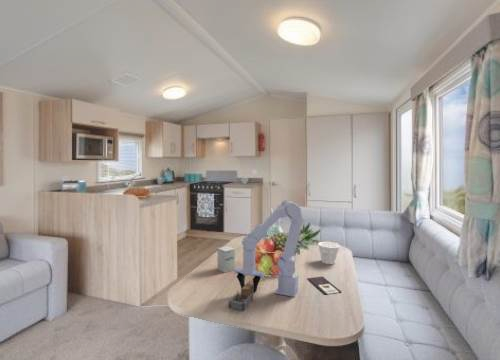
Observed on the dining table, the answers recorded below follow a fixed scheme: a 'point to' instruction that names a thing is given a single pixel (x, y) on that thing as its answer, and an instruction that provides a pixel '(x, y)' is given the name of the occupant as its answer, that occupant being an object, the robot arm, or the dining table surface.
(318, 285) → the chocolate bar
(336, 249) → the cup
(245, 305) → the gray angular bracket
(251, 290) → the slat
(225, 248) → the supplement box
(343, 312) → the dining table surface
